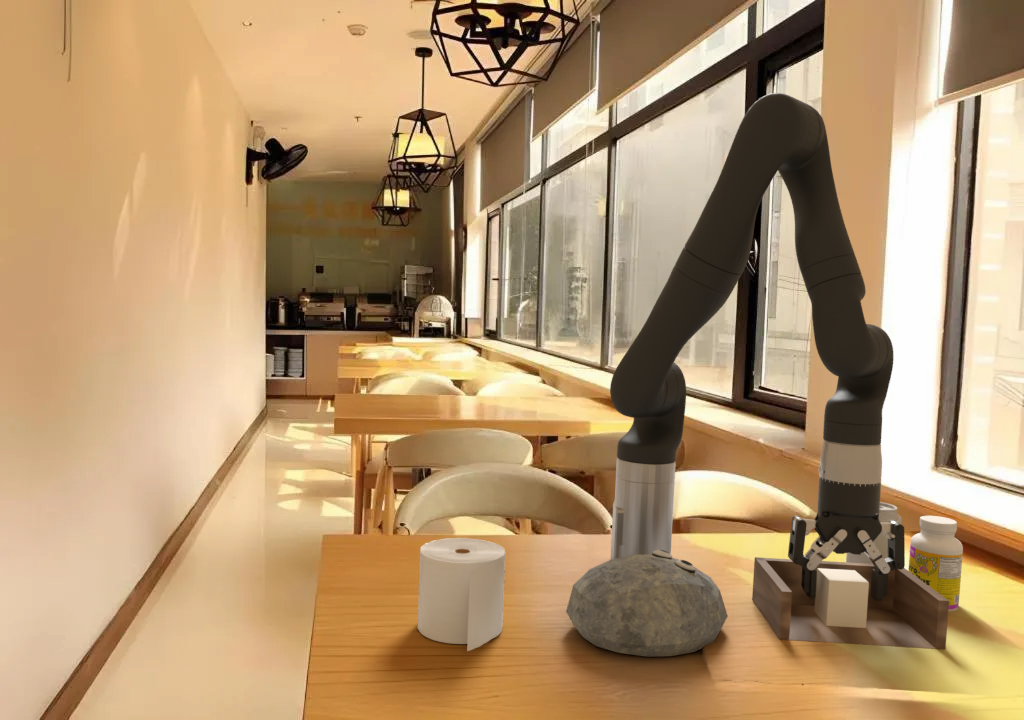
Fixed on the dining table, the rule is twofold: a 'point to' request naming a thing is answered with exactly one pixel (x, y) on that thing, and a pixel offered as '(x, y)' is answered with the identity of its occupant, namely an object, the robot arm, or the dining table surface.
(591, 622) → the decorative stone
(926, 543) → the supplement bottle
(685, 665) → the dining table surface
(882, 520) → the can
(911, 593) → the walnut box
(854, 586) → the cream block
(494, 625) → the toilet tissue
